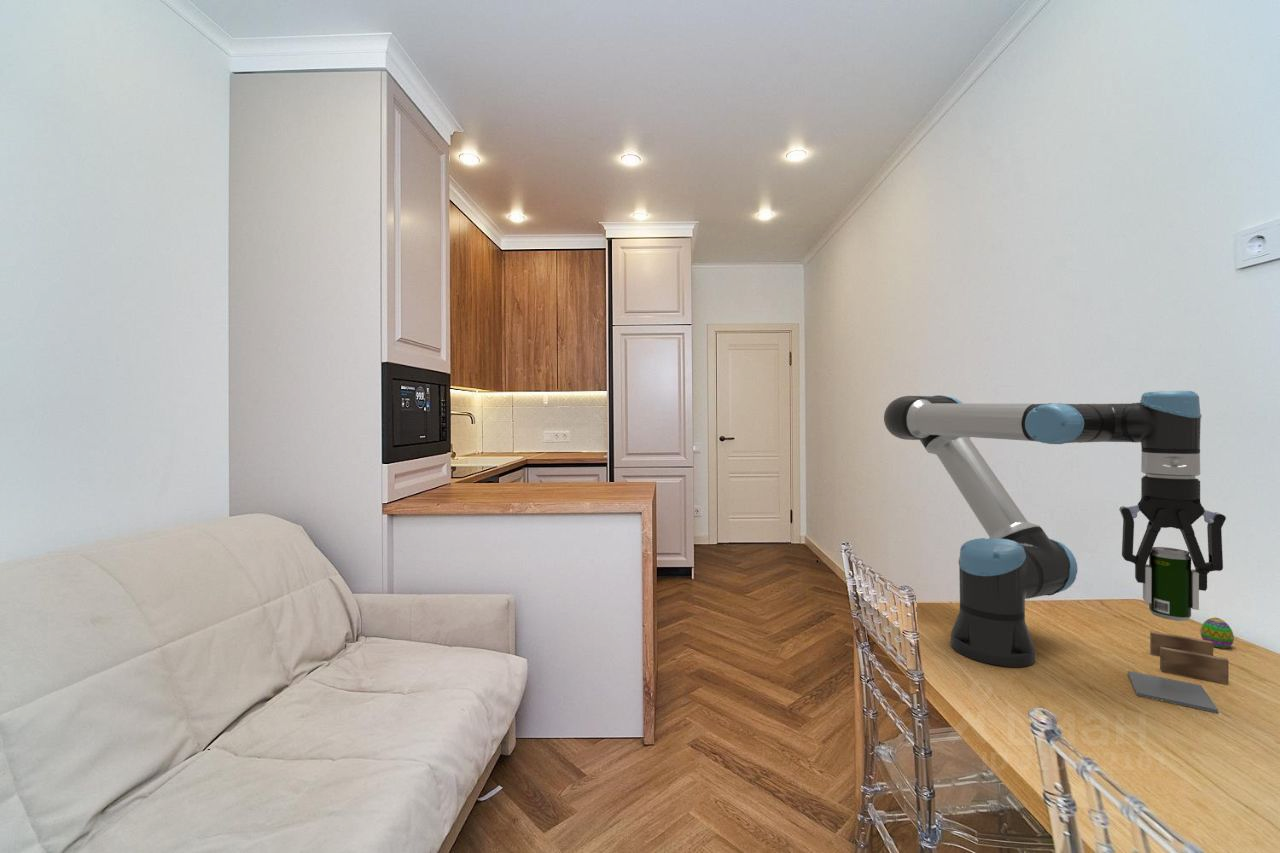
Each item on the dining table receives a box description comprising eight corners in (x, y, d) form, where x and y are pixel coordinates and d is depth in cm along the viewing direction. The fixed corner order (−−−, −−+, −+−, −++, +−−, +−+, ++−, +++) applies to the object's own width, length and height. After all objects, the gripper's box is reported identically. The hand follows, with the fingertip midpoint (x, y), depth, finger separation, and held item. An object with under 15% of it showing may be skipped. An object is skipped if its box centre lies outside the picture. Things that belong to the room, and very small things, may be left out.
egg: (1210, 639, 118) (1210, 613, 118) (1239, 648, 113) (1240, 621, 113) (1194, 641, 117) (1194, 615, 116) (1223, 651, 112) (1223, 623, 112)
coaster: (1137, 695, 94) (1137, 692, 94) (1127, 673, 102) (1127, 670, 102) (1218, 713, 88) (1218, 709, 88) (1201, 688, 97) (1201, 685, 97)
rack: (1161, 671, 103) (1161, 648, 103) (1150, 652, 112) (1150, 631, 111) (1228, 684, 98) (1228, 660, 98) (1211, 663, 106) (1211, 641, 106)
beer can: (1185, 623, 92) (1185, 555, 92) (1144, 614, 96) (1144, 549, 96) (1195, 617, 94) (1195, 551, 94) (1155, 608, 99) (1155, 545, 99)
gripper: (1105, 475, 97) (1105, 600, 97) (1253, 481, 87) (1253, 621, 87) (1100, 472, 103) (1100, 589, 104) (1237, 477, 93) (1237, 607, 93)
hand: (1169, 603), depth 95 cm, fingers closed on beer can, 5 cm apart
